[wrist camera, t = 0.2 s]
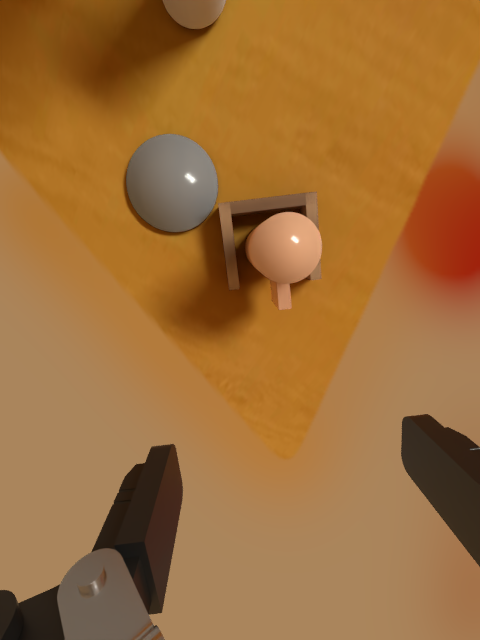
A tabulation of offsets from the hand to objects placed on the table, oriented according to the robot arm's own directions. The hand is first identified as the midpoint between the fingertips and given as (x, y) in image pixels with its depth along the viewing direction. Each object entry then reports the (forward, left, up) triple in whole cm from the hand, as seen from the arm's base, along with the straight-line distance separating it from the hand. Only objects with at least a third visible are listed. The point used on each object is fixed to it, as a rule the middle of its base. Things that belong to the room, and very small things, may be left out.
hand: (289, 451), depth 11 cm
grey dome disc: (-14, -7, -28) cm, 32 cm away
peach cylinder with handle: (-5, +3, -28) cm, 28 cm away
